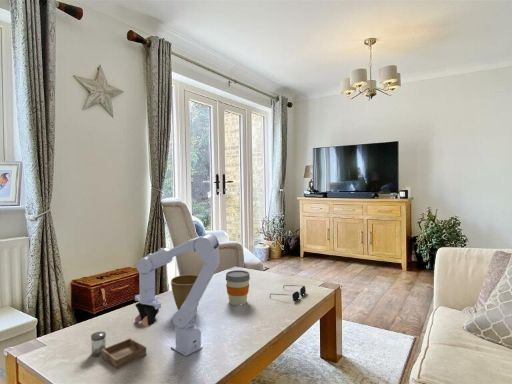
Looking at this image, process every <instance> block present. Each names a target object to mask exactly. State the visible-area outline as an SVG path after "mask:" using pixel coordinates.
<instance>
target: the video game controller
mask: <svg viewBox="0 0 512 384" xmlns="http://www.w3.org/2000/svg"><path fill="white" fill-rule="evenodd" d="M159 312H160V309H159V310H158V312H157V314H156V316H157V315H158V314H159ZM134 320H135V323H137V324H139V323H140V322H142V321H141V317H140V314H138V315H136V316H135V318H134Z"/></svg>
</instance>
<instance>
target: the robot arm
mask: <svg viewBox="0 0 512 384" xmlns="http://www.w3.org/2000/svg"><path fill="white" fill-rule="evenodd" d="M189 251H190V252H192V253H197V255H198V256H199V257H200V258H201V259H202V261H203V265H202V268H201V270H200V271H199V274H198V275H197V276H198V277H197V279H196V281H195V283H194V285H193V287H192V289H191V291H190V293H189V294H188V296H187V298H186V300H185V302H184V303H183V304H182V306H181V307H180V309H179V310H178V309H177V311H176V312H175V313H174V314H173V316H172V323H173V325H174V327H175V343H174V344H173V345H171V346H170V348H171V349H173V350H175V351H176V352H178V353H180V354H181V355H183V356H185V357H187V356H189V355H191V354H193V353H195V352H197V351H199V350H201V349H203V345H202V339H201V338H202V334H201V333H202V331H201V330H200V329H199V328H198V327H197V325H196V321H195V317H196V315H197V313H198V306H199V302H200V300H201V299H202V297H203V295H204V293H205V291H206V290H207V288H208V286H209V283H210V281H211V280H212V279H213V276H214V274H215V272H216V270H217V269H218V267H219V265H220V263H221V262H220V242H219V240H218V238H217V236H216V235H215V234H213V233H206V234H205V235H200V236H198V237H194V238H191V239H189V240H186V241H184V242H183V243H180V244H179V245H176V246H175V247H173V248H171V249H169V248H167V247H165V248H163V247H160V248H158V249H157V251H155V252H153V253H152V252H151V253H148V254H147V256H145V257H141V258H140V259H139V260H137V262H136V264H135V265H136V270H137V272H138V274H139V275H138V276H139V294H136V295H134V301H136V302H138V303H135V304H134V305H135V307H136V309H137V311H138V313H139V314H140V317H141V321H140V322H142V320H143V318H144V317H146V316H147V321H148V325H151V326H152V325H154V324H155V321H156V317H157V315H158V314H157V312H158V310H159V311H160V309H161V308H162V305H161V304H162V303H161V302H160V301H159V300H158V299H159V297H158V296H157V295H156V269H158V268H161V267H162V266H165V265H167V264H169V263H171V262H173V259H174V257H177V256H180V255H181V254H184V253H186V252H189ZM158 313H159V312H158ZM139 314H138V315H139ZM156 314H157V315H156Z"/></svg>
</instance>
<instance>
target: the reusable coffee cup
mask: <svg viewBox="0 0 512 384" xmlns="http://www.w3.org/2000/svg"><path fill="white" fill-rule="evenodd" d="M250 279H251V275H250V272H249V271H247V270H243V269H242V270H239V269H238V270H230V271H227V272H226V273H225V281H226V284H225V285H226V292H227V296H228V302H229V304H230V305H232V304H233V306H242V305H241V304H243V305H245V304H246V303H247V300H248V295H249V288H250Z"/></svg>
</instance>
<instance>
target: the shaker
mask: <svg viewBox="0 0 512 384" xmlns="http://www.w3.org/2000/svg"><path fill="white" fill-rule="evenodd" d="M106 335H107V334H106V331H97V332H94V333H92V334H91V335H90V341H91V356H92V357H94V358H96V357H97V358H98V357H102V349H104V348H107V346H106V343H107V340H106V337H107V336H106Z"/></svg>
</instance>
